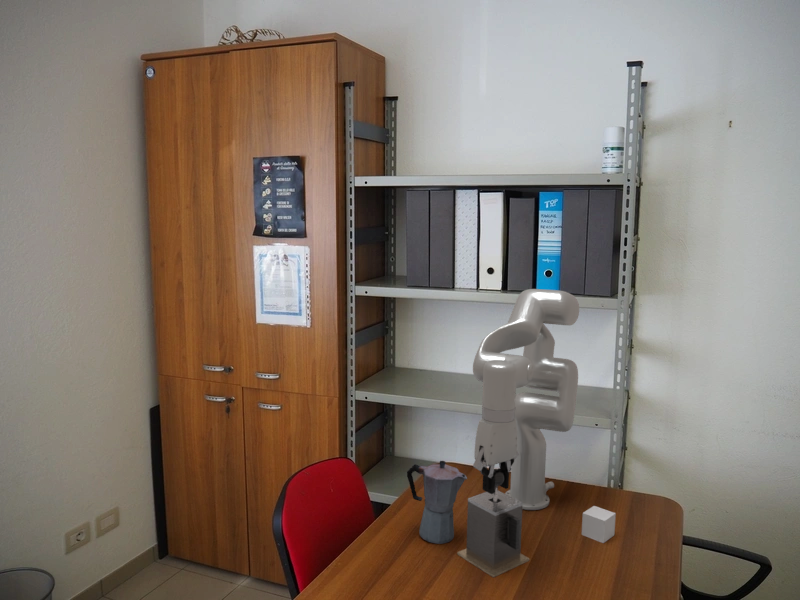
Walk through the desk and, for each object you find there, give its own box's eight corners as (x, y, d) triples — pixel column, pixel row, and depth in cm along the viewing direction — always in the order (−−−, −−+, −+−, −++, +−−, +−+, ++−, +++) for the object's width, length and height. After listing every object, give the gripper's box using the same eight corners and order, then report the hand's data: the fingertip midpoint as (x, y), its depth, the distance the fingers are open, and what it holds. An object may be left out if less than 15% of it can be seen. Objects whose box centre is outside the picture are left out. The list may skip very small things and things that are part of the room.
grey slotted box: (492, 539, 157) (494, 485, 156) (533, 563, 147) (536, 505, 145) (457, 554, 150) (459, 497, 148) (497, 580, 140) (500, 519, 138)
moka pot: (463, 548, 153) (465, 470, 150) (401, 541, 156) (402, 464, 153) (467, 530, 162) (469, 456, 160) (408, 523, 165) (410, 450, 163)
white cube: (614, 535, 161) (615, 513, 160) (603, 543, 157) (604, 521, 156) (592, 527, 165) (594, 505, 164) (581, 534, 161) (582, 512, 160)
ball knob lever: (493, 527, 153) (495, 462, 151) (513, 538, 148) (515, 470, 146) (474, 535, 149) (476, 468, 147) (494, 546, 144) (496, 477, 142)
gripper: (511, 404, 153) (508, 475, 155) (460, 416, 143) (458, 492, 145) (534, 411, 147) (531, 486, 149) (483, 425, 137) (481, 504, 139)
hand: (495, 488), depth 147 cm, fingers closed on ball knob lever, 4 cm apart
